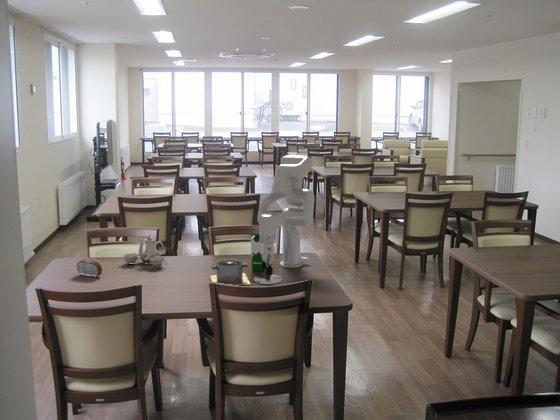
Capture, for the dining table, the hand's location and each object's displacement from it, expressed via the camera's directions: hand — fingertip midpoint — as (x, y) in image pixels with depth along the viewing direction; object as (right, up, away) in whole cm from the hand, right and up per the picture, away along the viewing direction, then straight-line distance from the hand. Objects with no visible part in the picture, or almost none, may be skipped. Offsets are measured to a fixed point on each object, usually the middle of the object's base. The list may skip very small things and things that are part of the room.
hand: (267, 272), depth 292 cm
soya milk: (-4, -1, +21) cm, 21 cm away
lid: (0, -4, +1) cm, 5 cm away
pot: (-19, -4, 0) cm, 19 cm away
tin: (-93, -3, +11) cm, 94 cm away
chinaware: (-67, +1, +32) cm, 75 cm away
